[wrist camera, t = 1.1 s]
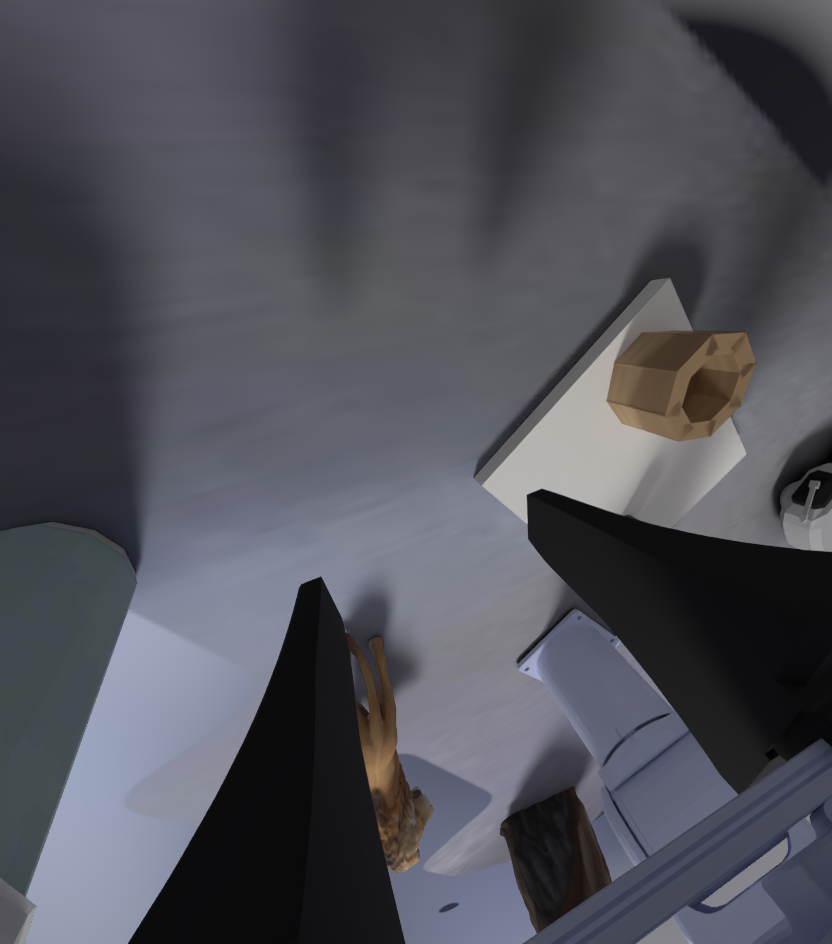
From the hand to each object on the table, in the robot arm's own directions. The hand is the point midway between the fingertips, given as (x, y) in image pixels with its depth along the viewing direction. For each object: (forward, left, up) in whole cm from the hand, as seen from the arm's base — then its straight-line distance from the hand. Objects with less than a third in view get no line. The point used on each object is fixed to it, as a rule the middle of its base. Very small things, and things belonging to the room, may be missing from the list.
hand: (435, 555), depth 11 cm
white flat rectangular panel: (-15, -10, -10) cm, 21 cm away
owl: (-55, +29, -10) cm, 63 cm away
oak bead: (-10, -14, -9) cm, 20 cm away
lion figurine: (-13, +16, -10) cm, 23 cm away
